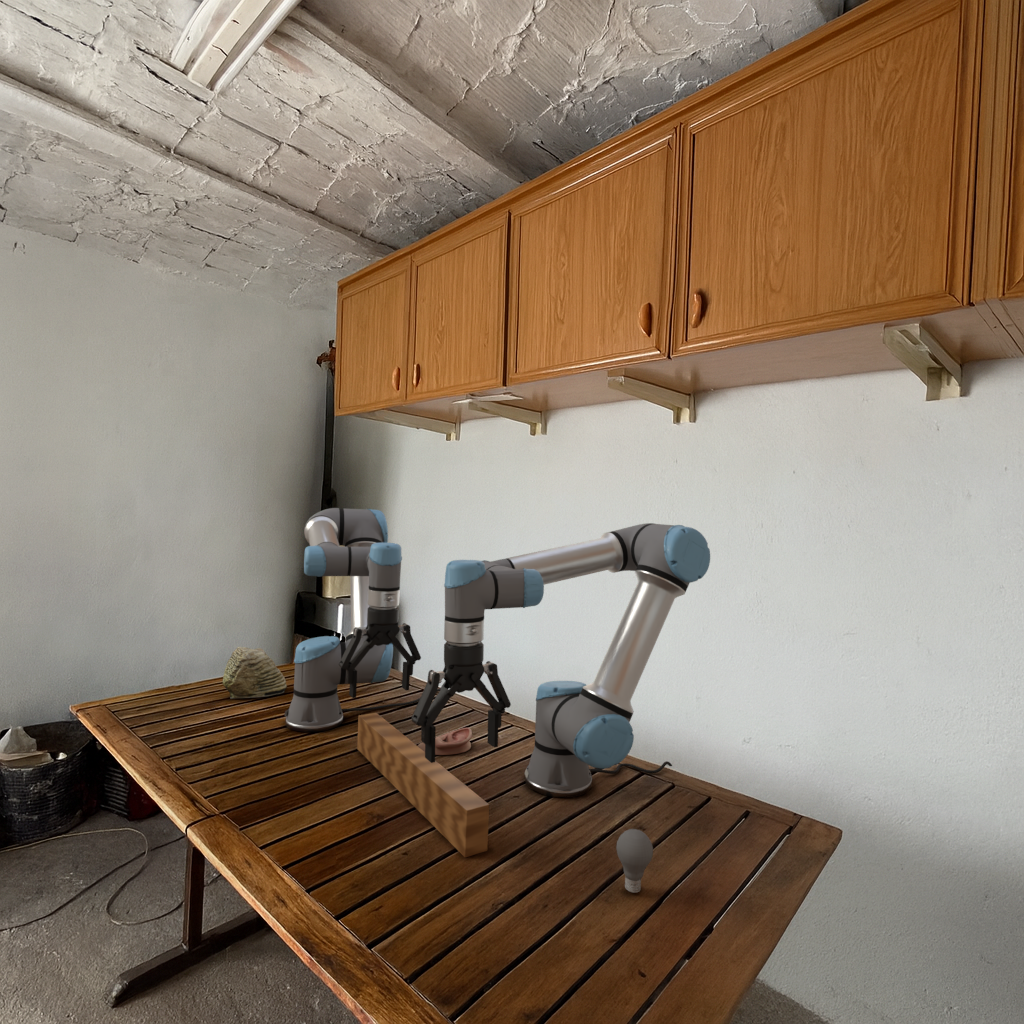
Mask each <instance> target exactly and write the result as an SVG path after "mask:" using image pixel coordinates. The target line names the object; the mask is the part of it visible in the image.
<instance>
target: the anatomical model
mask: <svg viewBox="0 0 1024 1024" xmlns="http://www.w3.org/2000/svg"><path fill="white" fill-rule="evenodd" d="M472 737H473V731H472V729H471V728H470V727H462V728H459V729H455V730H451V731H449V732H447V733H443V734H441V735H438V736H435V756H448V755H457V754H461V753H465V752H467V751H469V750H470V749H471V747H472V744H471V742H470V741H471V739H472ZM417 746H418V747H419V748H420V749H421V750H423V751H424V752H425V744H424V743H423V742H422V741H421V742H419V744H418V745H417Z"/></svg>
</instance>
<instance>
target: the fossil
mask: <svg viewBox="0 0 1024 1024" xmlns="http://www.w3.org/2000/svg"><path fill="white" fill-rule="evenodd" d="M222 676H223V677H222V685H223V687H224V688H225V690H226V691H228V693H229V698H230V699H250V698H264V697H271V696H275V695H281V694H284V693H285V691H286V689H287V687H288V686H287V680H286V678H285V676H284V674H283V673H282V672H281V669H279V668H278V667H277V665H276V663H275V662H274V660H273V659H272V658H271V657H270V656H269V655H268V654H267V653H266V652H265V650H264V649H263V648H260V647H258V648H251V647H247V646H246V647H245V646H238V647H237V648H236V649H235V650H233V651H232V653H231V656H230V657H229V659H228V660H227V663H226V666H225V668H224V671H223V675H222Z"/></svg>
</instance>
